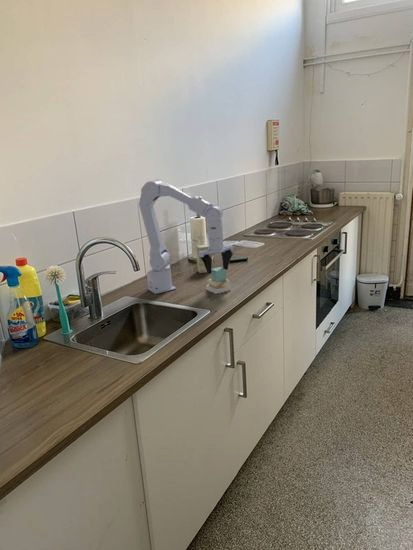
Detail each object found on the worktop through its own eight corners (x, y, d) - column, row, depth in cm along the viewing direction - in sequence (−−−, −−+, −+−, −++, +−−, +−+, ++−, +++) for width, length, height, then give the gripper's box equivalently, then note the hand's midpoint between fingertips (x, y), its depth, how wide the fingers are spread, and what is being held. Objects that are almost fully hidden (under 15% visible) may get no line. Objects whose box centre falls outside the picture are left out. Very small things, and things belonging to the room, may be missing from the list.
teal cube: (216, 282, 163) (216, 271, 162) (211, 279, 167) (210, 269, 165) (226, 279, 165) (225, 269, 164) (220, 277, 169) (220, 266, 167)
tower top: (216, 289, 163) (216, 283, 162) (208, 285, 168) (208, 279, 167) (229, 285, 165) (229, 280, 165) (221, 282, 170) (221, 276, 170)
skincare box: (199, 273, 190) (197, 247, 187) (197, 271, 194) (195, 245, 191) (213, 271, 192) (211, 245, 188) (210, 269, 196) (209, 244, 192)
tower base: (215, 295, 163) (215, 289, 162) (206, 291, 169) (206, 285, 168) (230, 291, 166) (230, 285, 165) (221, 287, 172) (221, 281, 171)
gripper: (204, 242, 154) (206, 277, 158) (236, 236, 161) (238, 269, 165) (195, 239, 160) (197, 273, 164) (226, 233, 167) (228, 266, 171)
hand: (217, 271), depth 165 cm, fingers open, 7 cm apart
